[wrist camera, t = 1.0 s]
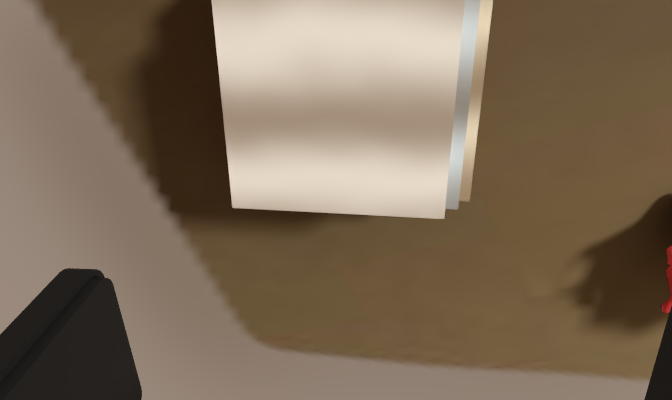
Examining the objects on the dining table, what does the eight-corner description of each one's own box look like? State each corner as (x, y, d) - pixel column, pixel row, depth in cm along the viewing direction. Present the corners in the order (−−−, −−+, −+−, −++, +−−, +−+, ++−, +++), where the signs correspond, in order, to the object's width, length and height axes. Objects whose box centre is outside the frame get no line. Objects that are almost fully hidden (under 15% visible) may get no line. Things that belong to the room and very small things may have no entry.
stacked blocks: (221, -72, 32) (159, -65, 24) (493, -73, 30) (522, -65, 22) (242, 170, 39) (199, 238, 31) (465, 180, 37) (480, 254, 29)
